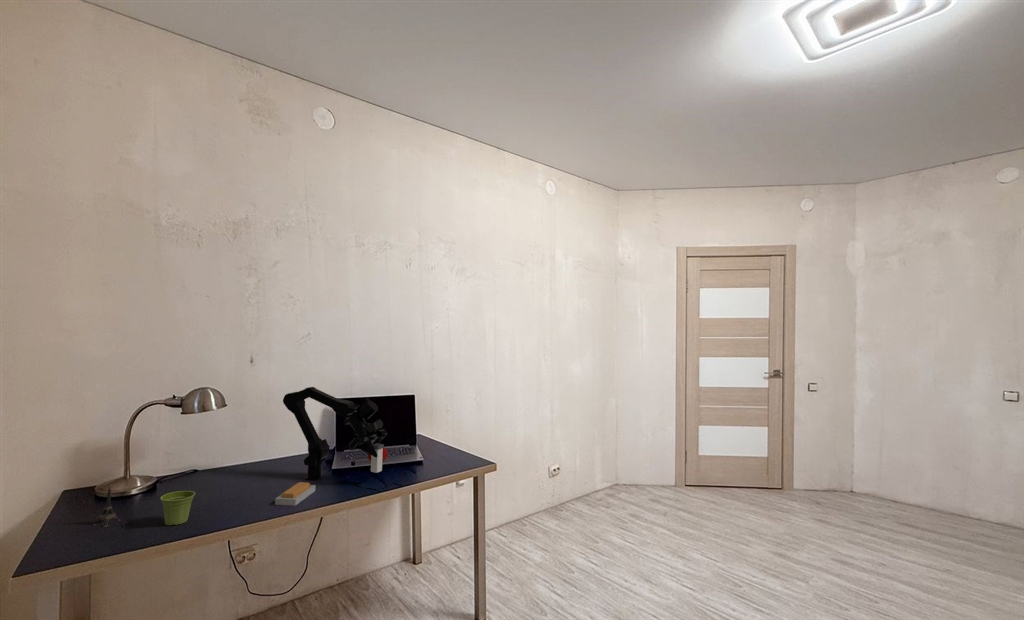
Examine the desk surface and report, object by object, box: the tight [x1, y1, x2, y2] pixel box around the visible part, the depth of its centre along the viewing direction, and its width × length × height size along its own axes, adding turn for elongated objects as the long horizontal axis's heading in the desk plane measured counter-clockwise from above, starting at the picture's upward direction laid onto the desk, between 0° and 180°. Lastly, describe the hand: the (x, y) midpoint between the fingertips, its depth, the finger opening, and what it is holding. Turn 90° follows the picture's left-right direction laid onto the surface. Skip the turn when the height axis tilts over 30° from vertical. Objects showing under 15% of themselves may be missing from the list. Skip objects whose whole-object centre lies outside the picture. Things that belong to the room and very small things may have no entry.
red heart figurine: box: [367, 447, 388, 463], centre depth 218 cm, size 9×7×10 cm
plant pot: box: [160, 490, 196, 526], centre depth 156 cm, size 9×9×9 cm
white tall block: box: [370, 443, 385, 474], centre depth 198 cm, size 4×4×11 cm
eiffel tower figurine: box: [92, 485, 126, 529], centre depth 154 cm, size 15×10×13 cm
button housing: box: [274, 484, 317, 507], centre depth 180 cm, size 16×8×2 cm, turn 178°
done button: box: [281, 481, 310, 498], centre depth 181 cm, size 13×4×2 cm, turn 178°
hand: (379, 455), depth 197 cm, fingers closed on white tall block, 3 cm apart
